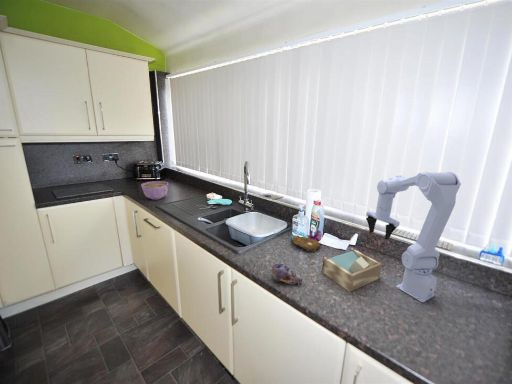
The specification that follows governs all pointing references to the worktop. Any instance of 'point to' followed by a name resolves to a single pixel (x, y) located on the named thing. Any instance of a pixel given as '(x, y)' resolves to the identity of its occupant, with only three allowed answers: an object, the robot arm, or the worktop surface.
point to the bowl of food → (155, 189)
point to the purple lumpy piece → (285, 274)
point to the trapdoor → (345, 260)
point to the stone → (358, 265)
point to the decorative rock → (306, 243)
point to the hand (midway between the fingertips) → (378, 235)
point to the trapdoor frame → (355, 279)
